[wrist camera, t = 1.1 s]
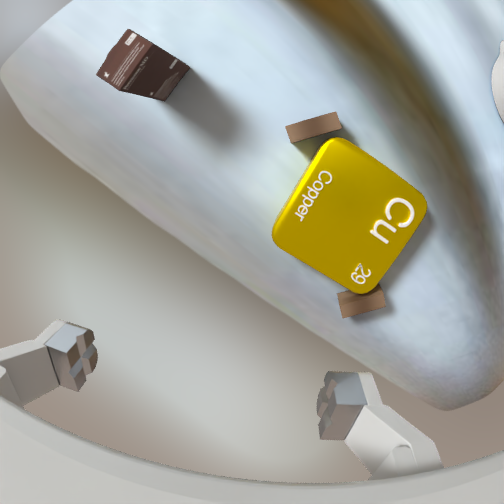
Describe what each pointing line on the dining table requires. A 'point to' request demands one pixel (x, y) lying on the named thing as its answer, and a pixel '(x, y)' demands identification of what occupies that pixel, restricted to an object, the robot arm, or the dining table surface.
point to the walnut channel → (348, 299)
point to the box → (141, 68)
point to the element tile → (348, 216)
